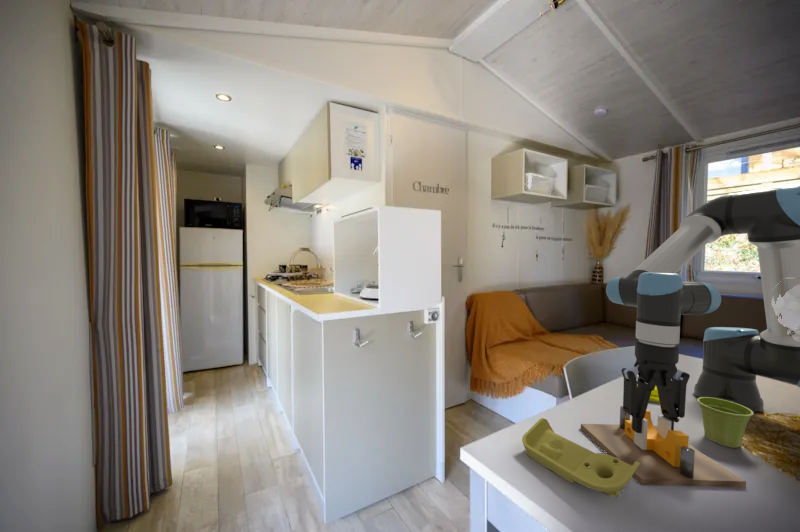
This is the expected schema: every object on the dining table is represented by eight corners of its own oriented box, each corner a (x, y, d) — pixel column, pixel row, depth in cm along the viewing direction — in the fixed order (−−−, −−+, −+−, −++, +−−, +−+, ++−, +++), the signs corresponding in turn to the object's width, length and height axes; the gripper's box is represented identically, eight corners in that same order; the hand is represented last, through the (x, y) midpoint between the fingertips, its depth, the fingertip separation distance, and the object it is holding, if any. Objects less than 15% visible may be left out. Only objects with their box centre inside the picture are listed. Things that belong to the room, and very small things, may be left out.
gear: (631, 396, 101) (663, 405, 94) (632, 384, 101) (663, 393, 94) (640, 390, 105) (671, 399, 99) (641, 379, 105) (671, 387, 99)
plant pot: (762, 456, 70) (764, 418, 70) (708, 447, 73) (710, 410, 73) (735, 435, 79) (736, 400, 78) (688, 427, 82) (689, 394, 82)
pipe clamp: (624, 433, 75) (625, 406, 75) (642, 434, 75) (644, 407, 75) (665, 466, 63) (666, 434, 63) (687, 467, 63) (688, 435, 63)
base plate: (659, 430, 80) (659, 425, 80) (745, 487, 60) (746, 481, 60) (580, 428, 80) (580, 423, 80) (641, 484, 60) (641, 478, 60)
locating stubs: (625, 425, 79) (626, 406, 79) (696, 478, 60) (697, 452, 60) (617, 425, 79) (618, 406, 79) (686, 478, 60) (687, 452, 60)
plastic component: (517, 441, 69) (546, 412, 73) (529, 469, 70) (556, 439, 75) (613, 499, 51) (644, 456, 55) (627, 535, 52) (657, 491, 56)
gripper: (680, 339, 73) (676, 438, 74) (605, 336, 73) (601, 436, 74) (712, 348, 66) (707, 458, 66) (629, 345, 66) (624, 456, 66)
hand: (651, 446), depth 70 cm, fingers closed on pipe clamp, 4 cm apart
